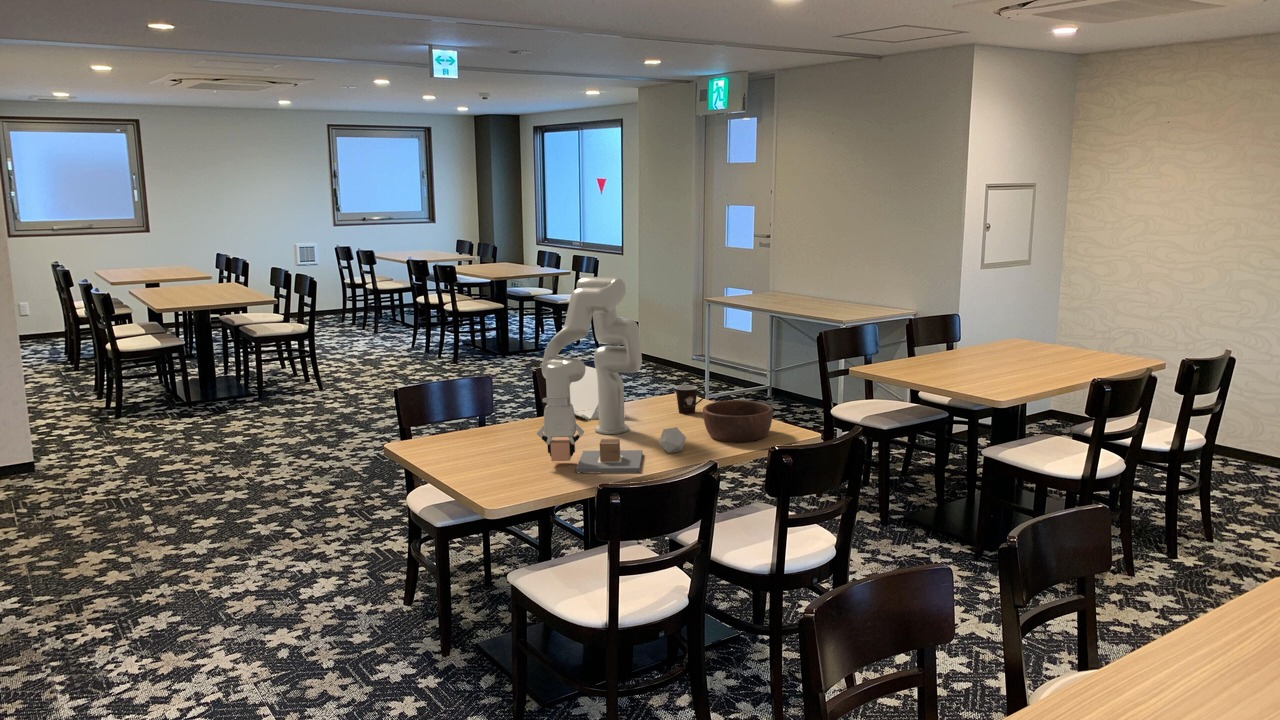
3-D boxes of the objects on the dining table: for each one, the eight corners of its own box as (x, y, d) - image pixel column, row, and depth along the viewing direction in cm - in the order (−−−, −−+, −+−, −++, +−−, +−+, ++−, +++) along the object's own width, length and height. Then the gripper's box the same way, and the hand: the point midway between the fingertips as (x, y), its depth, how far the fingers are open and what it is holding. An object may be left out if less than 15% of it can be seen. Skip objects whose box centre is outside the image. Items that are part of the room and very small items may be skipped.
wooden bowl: (787, 436, 335) (788, 408, 333) (733, 449, 321) (733, 420, 319) (741, 423, 355) (741, 396, 353) (688, 434, 341) (688, 406, 339)
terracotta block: (554, 455, 311) (553, 437, 310) (572, 455, 311) (571, 437, 310) (551, 461, 305) (550, 443, 304) (569, 460, 305) (568, 443, 304)
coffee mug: (674, 414, 370) (674, 389, 368) (677, 409, 378) (676, 385, 376) (704, 415, 368) (703, 390, 366) (706, 410, 376) (706, 385, 374)
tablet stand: (587, 403, 394) (585, 363, 391) (620, 414, 374) (619, 372, 371) (549, 410, 384) (547, 369, 381) (582, 422, 364) (580, 378, 360)
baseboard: (583, 455, 318) (583, 450, 318) (642, 454, 317) (642, 450, 317) (576, 473, 299) (576, 468, 298) (639, 472, 298) (639, 467, 297)
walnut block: (601, 456, 311) (601, 438, 310) (620, 456, 310) (619, 438, 309) (600, 461, 305) (599, 443, 304) (618, 461, 305) (618, 443, 303)
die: (678, 447, 326) (661, 426, 325) (694, 439, 320) (677, 418, 319) (667, 461, 321) (649, 440, 319) (683, 453, 314) (665, 431, 313)
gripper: (530, 405, 301) (533, 459, 305) (584, 403, 300) (586, 458, 304) (534, 399, 308) (537, 452, 312) (586, 398, 307) (589, 451, 311)
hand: (561, 454), depth 308 cm, fingers closed on terracotta block, 6 cm apart
